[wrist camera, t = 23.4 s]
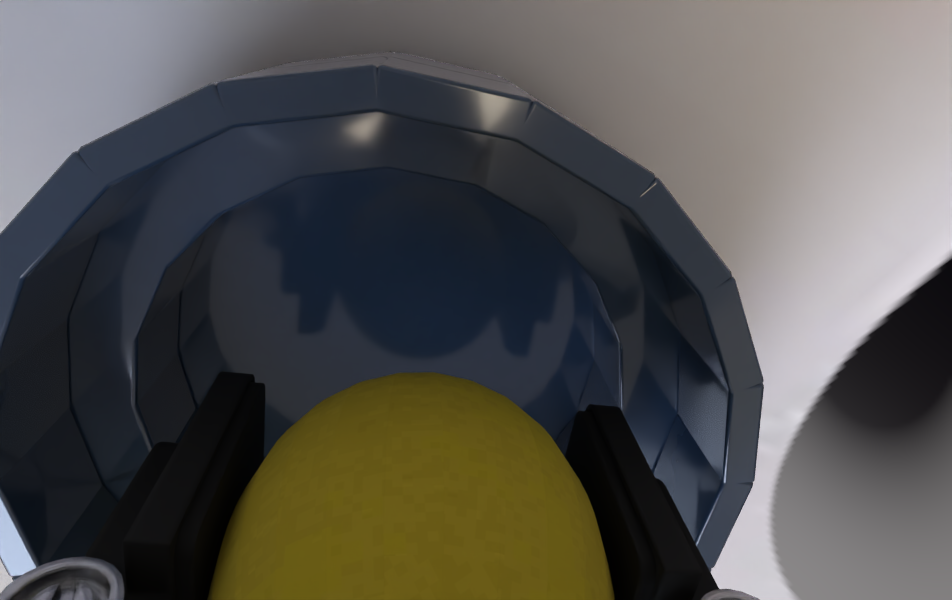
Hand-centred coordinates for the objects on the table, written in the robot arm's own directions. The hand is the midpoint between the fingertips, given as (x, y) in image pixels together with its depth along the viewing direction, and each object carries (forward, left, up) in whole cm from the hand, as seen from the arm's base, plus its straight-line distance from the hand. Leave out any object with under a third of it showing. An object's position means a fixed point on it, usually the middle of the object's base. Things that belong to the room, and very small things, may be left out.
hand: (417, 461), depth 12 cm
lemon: (0, 0, -2) cm, 2 cm away
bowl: (0, -1, -4) cm, 4 cm away
